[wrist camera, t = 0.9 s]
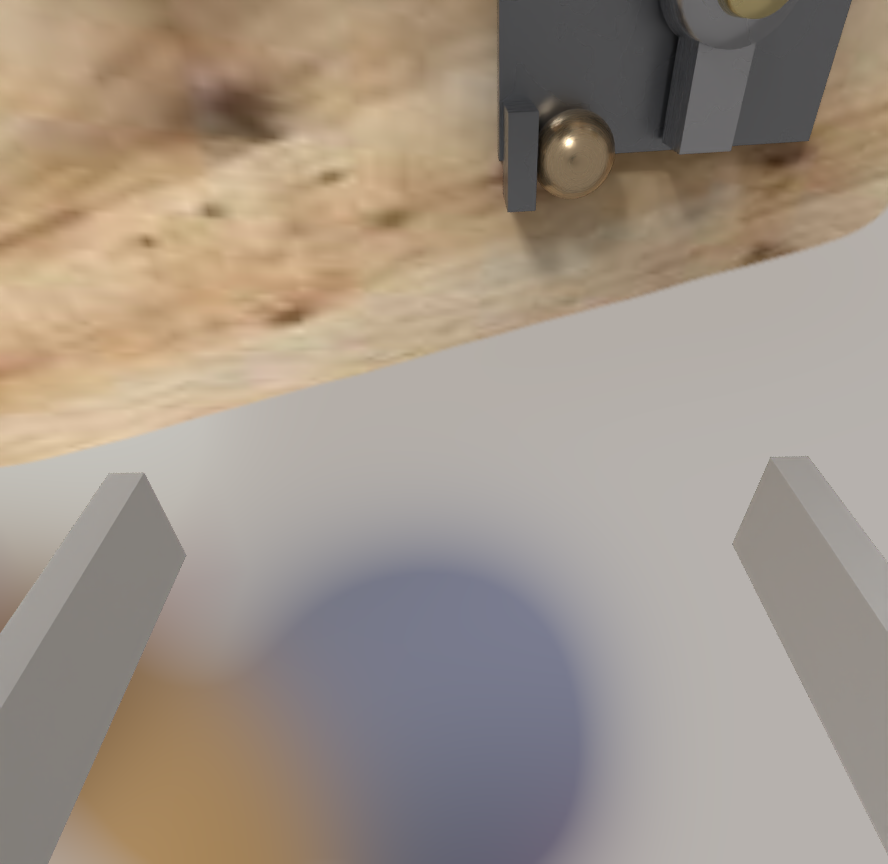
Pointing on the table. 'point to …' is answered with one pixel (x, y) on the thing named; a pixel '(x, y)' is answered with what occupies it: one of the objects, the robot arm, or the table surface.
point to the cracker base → (635, 85)
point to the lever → (710, 72)
